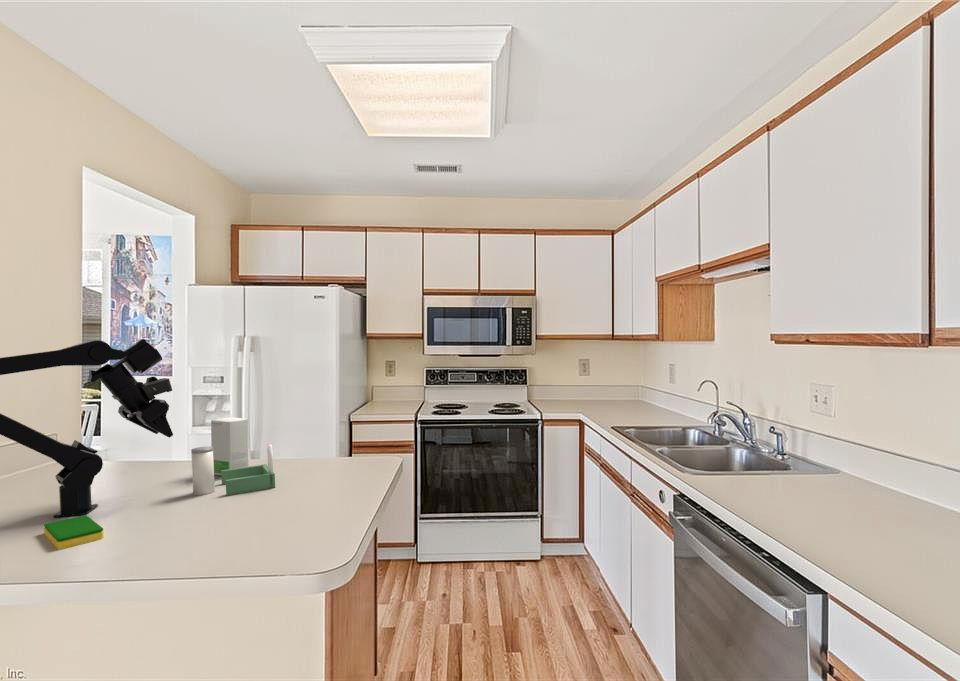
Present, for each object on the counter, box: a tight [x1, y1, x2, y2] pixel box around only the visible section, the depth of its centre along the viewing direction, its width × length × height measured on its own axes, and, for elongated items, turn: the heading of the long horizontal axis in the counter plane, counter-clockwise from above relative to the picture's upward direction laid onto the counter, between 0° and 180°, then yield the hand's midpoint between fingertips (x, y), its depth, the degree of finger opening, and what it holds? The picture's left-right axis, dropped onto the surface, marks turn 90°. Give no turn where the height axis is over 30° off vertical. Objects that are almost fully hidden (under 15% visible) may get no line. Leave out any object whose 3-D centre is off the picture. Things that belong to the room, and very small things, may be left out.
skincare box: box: [210, 416, 249, 476], centre depth 156 cm, size 8×7×16 cm
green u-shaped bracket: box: [221, 443, 276, 496], centre depth 142 cm, size 11×13×10 cm
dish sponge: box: [43, 514, 105, 550], centre depth 108 cm, size 7×14×2 cm, turn 47°
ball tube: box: [190, 445, 216, 496], centre depth 136 cm, size 5×5×11 cm
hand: (164, 434), depth 137 cm, fingers open, 9 cm apart
